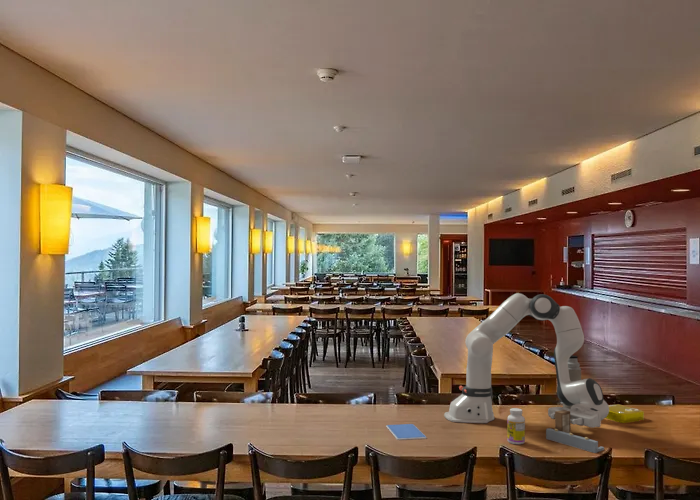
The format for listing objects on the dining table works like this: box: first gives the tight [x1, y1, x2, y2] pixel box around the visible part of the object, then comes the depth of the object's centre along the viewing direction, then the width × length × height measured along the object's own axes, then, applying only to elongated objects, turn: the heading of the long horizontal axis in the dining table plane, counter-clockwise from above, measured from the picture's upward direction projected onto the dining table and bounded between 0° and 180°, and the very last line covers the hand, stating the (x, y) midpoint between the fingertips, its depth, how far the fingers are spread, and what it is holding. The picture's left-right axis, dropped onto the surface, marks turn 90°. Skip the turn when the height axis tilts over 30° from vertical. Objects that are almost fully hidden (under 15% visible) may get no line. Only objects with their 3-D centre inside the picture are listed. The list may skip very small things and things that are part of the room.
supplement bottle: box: [506, 407, 526, 445], centre depth 223 cm, size 7×7×13 cm
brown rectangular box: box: [554, 410, 571, 434], centre depth 228 cm, size 6×3×11 cm, turn 121°
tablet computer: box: [385, 423, 428, 441], centre depth 235 cm, size 19×13×1 cm, turn 10°
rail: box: [545, 427, 605, 454], centre depth 222 cm, size 6×21×5 cm, turn 36°
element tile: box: [605, 403, 645, 424], centre depth 262 cm, size 15×15×5 cm
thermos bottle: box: [562, 354, 582, 409], centre depth 264 cm, size 8×8×28 cm
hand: (561, 419), depth 228 cm, fingers open, 8 cm apart
